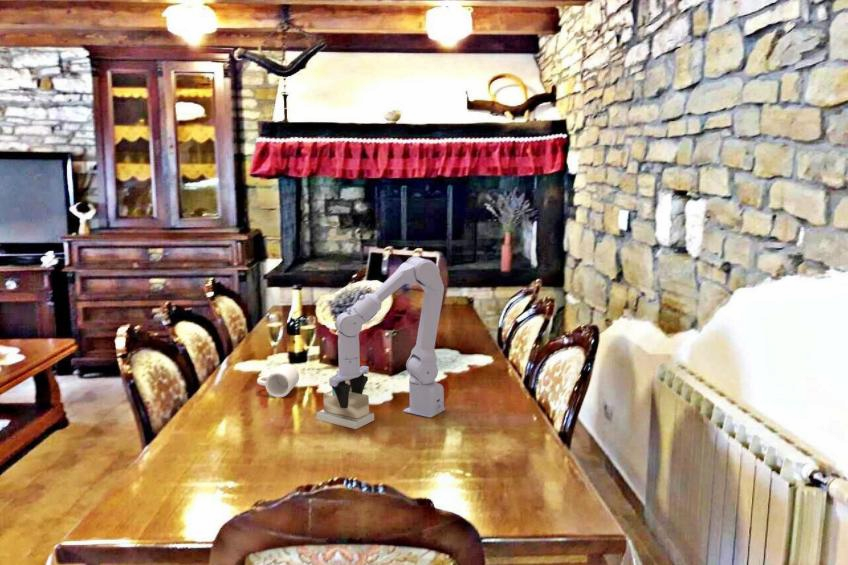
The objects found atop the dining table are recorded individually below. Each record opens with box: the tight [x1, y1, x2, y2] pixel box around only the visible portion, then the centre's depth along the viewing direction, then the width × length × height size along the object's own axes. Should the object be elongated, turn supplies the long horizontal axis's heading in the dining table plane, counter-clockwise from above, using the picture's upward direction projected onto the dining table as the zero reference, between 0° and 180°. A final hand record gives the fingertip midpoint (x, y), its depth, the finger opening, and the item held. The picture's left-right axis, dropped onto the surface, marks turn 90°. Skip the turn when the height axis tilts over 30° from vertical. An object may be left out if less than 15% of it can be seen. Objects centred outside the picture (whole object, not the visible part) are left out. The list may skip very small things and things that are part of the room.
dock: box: [315, 409, 375, 430], centre depth 197 cm, size 14×8×2 cm, turn 56°
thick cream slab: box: [322, 390, 370, 418], centre depth 196 cm, size 12×5×5 cm, turn 56°
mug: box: [256, 363, 300, 399], centre depth 221 cm, size 12×10×8 cm
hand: (350, 404), depth 195 cm, fingers closed on thick cream slab, 5 cm apart
